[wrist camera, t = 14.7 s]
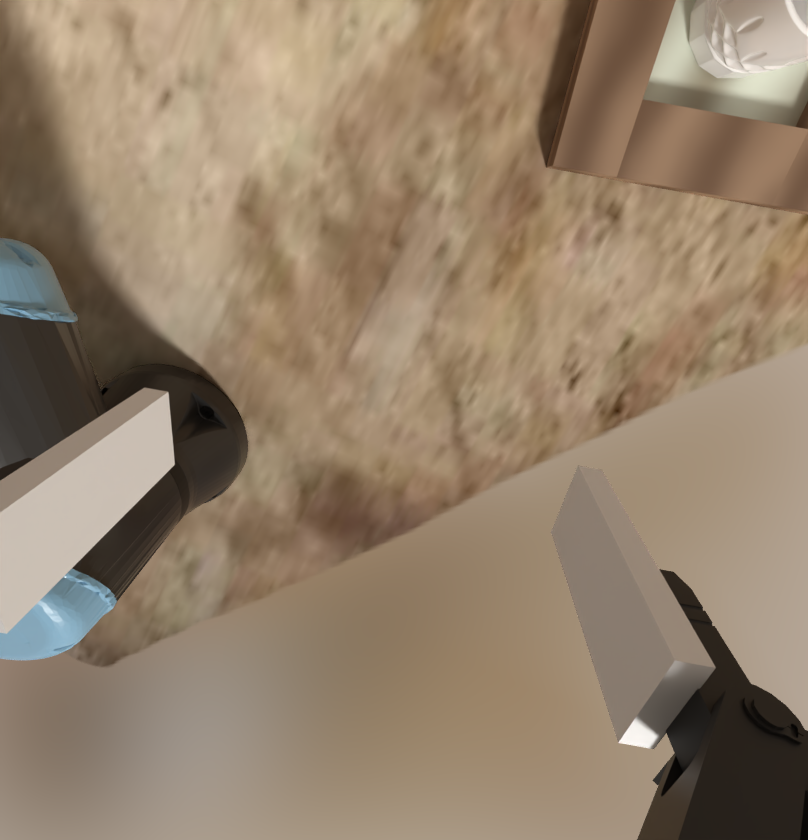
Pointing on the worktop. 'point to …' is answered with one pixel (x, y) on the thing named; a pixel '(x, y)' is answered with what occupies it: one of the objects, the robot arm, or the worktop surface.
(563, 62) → the worktop surface
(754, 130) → the wooden picture frame
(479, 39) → the worktop surface
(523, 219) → the worktop surface
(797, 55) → the white cup
